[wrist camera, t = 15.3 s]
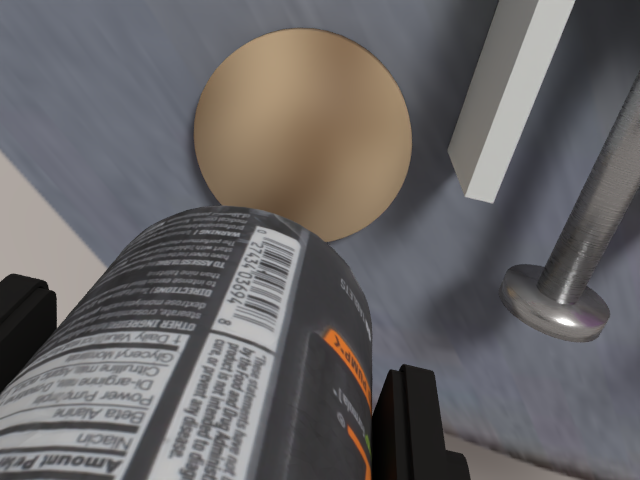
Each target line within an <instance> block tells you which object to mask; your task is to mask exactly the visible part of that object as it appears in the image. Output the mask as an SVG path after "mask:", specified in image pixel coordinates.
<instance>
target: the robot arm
mask: <svg viewBox="0 0 640 480" xmlns="http://www.w3.org/2000/svg"><path fill="white" fill-rule="evenodd" d="M56 300H57V298H56V293H55V292H54V291H51V290H49V288H48V285H47V282H46V281H43V280H40V279H35V278H31V277H26V276H22V275H18V274H10V275H8V276H7V277H5V278H4V279H3V280H2V281H1V282H0V394H1V392H2V391H3V390H4V389H5V388H6V386H7V385H8V384H9V383H10V382H11V381H12V380H13V379H14V377H15V376H16V375H17V374H18V373H19V372H20V371H21V370H22V369H23V368H24V366H25V365H26V364H27V363H28V361H29V360H30V359H31V358H32V357H33V355H34V354H35V353H36V352H37V351H38V349H39V348H40V347H41V346H42V345H43V344H44V343H45V342H46V341H47V339H48V338H49V337H50V336H51V335H52V334H53V332H54V331H55V330H56V329H57V304H56V303H57V302H56ZM372 436H373V460H372V480H471V479H470V474H469V468H468V465H467V461H466V458H465V457H464V455H463V454H461V453H456V452H452V451H448V450H446V449H445V442H444V435H443V428H442V421H441V415H440V408H439V401H438V394H437V387H436V380H435V375H434V372H433V371H431V370H427V369H423V368H418V367H414V366H410V365H406V364H403V365H402V366H401V367H400V369H399V371H396V370H392V369H391V370H390V371H389V372H388V374H387V377H386V380H385V383H384V385H383V388H382V391H381V394H380V396H379V399H378V402H377V405H376V407H375V410H374V413H373V416H372Z"/></svg>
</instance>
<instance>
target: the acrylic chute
mask: <svg viewBox="0 0 640 480" xmlns="http://www.w3.org/2000/svg"><path fill="white" fill-rule="evenodd" d="M574 3H575V0H499V2H498V5H497V8H496V11H495V14H494V17H493V20H492V23H491V25H490V28H489V31H488V34H487V37H486V40H485V43H484V46H483V49H482V52H481V54H480V57H479V60H478V63H477V66H476V69H475V72H474V75H473V78H472V81H471V83H470V86H469V89H468V92H467V95H466V98H465V101H464V104H463V107H462V110H461V112H460V115H459V118H458V121H457V124H456V127H455V130H454V133H453V136H452V139H451V141H450V144H449V147H448V150H447V151H448V154H449V157H450V159H451V162H452V164H453V167H454V170H455V172H456V175H457V177H458V180H459V183H460V185H461V188H462V191H463V193H464V196H465V197H468V198H473V199H477V200H481V201H485V202H489V203H493V202H494V200H495V197H496V195H497V192H498V190H499V188H500V185H501V183H502V180H503V178H504V175H505V173H506V170H507V168H508V165H509V163H510V160H511V158H512V155H513V153H514V151H515V148H516V146H517V143H518V141H519V138H520V136H521V133H522V131H523V128H524V126H525V123H526V121H527V118H528V116H529V114H530V111H531V109H532V106H533V104H534V101H535V99H536V96H537V94H538V91H539V89H540V86H541V84H542V81H543V79H544V77H545V74H546V72H547V69H548V67H549V64H550V62H551V59H552V57H553V54H554V52H555V49H556V47H557V44H558V42H559V40H560V37H561V35H562V32H563V30H564V27H565V25H566V22H567V20H568V17H569V15H570V12H571V10H572V7H573V5H574Z"/></svg>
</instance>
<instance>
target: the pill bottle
mask: <svg viewBox="0 0 640 480" xmlns="http://www.w3.org/2000/svg"><path fill="white" fill-rule="evenodd" d="M372 460H373V436H372V322H371V316H370V311H369V307H368V303H367V300H366V298H365V295H364V293H363V291H362V289H361V287H360V286H359V284H358V282H357V280H356V279H355V277H354V275H353V273H352V271H351V269H350V267H349V266H348V265H347V263H346V262H345V261H344V260H343V259H342V258H341V257H340V256H339V255H338V253H337V252H336V251H335V250H334V249H333V248H332V247H330V246H329V245H328V244H327V243H326V242H325V241H323V240H322V239H321V238H320V237H319V236H318V235H316V234H315V233H313V232H311V231H309V230H308V229H306V228H304V227H303V226H301V225H300V224H298V223H296V222H294V221H292V220H290V219H287V218H284V217H282V216H279V215H277V214H274V213H270V212H267V211H264V210H258V209H253V208H247V207H237V206H223V205H222V206H207V207H200V208H195V209H190V210H186V211H183V212H181V213H178V214H175V215H173V216H170V217H167V218H165V219H163V220H161V221H159V222H157V223H155V224H153V225H151V226H150V227H148V228H147V229H145V230H144V231H143V232H142V233H140V234H139V235H138V236H137V237H136V238H135V239H134V240H132V241H131V242H130V244H129V245H127V246H126V247H125V249H124V250H123V251H122V252H121V253H120V255H119V256H118V257H117V258H116V260H115V261H114V262H113V263H112V264H111V265H110V266H109V268H108V269H107V270H106V272H105V273H104V274H103V275H102V276H101V277H100V278H99V280H98V281H97V282H96V283H95V284H94V286H93V287H92V288H91V289H90V290H89V291H88V292H87V294H86V295H85V296H84V297H83V298H82V300H81V301H80V302H79V303H78V305H77V306H76V307H75V308H74V309H73V310H72V311H71V312H70V313H69V315H68V316H67V317H66V319H65V320H64V321H63V322H62V323H61V324H60V326H59V327H58V328H57V329H56V330H55V331H54V332H53V334H52V335H51V336H50V337H49V338H48V339H47V341H46V342H45V343H44V344H43V345H42V346H41V347H40V348H39V349H38V351H37V352H36V353H35V354H34V355H33V357H32V358H31V359H30V360H29V361H28V363H27V364H26V365H25V366H24V368H23V369H22V370H21V371H20V372H19V373H18V374H17V375H16V376H15V377H14V379H13V380H12V381H11V382H10V383H9V384H8V385H7V386H6V388H5V389H4V390H3V391H2V392H1V394H0V480H372Z"/></svg>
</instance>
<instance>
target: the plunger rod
mask: <svg viewBox="0 0 640 480" xmlns="http://www.w3.org/2000/svg"><path fill="white" fill-rule="evenodd" d="M639 186H640V71H639V73H638V75H637V77H636V79H635V81H634V83H633V85H632V87H631V90H630V92H629V94H628V96H627V98H626V100H625V102H624V104H623V106H622V108H621V110H620V112H619V114H618V116H617V118H616V121H615V123H614V125H613V127H612V129H611V131H610V133H609V135H608V137H607V139H606V141H605V143H604V145H603V147H602V150H601V152H600V154H599V156H598V158H597V160H596V162H595V164H594V166H593V168H592V170H591V172H590V174H589V176H588V178H587V181H586V183H585V185H584V187H583V189H582V191H581V193H580V195H579V197H578V199H577V201H576V203H575V205H574V207H573V210H572V212H571V214H570V216H569V218H568V220H567V222H566V224H565V226H564V228H563V230H562V232H561V234H560V236H559V239H558V241H557V243H556V245H555V247H554V249H553V251H552V253H551V255H550V257H549V259H548V261H547V263H546V265H545V267H542V266H537V265H530V264H520V265H515V266H512V267H510V268H509V269H508V270H507V272H506V274H505V277H504V279H503V281H502V283H501V286H500V288H499V297H500V299H501V301H502V303H503V304H504V306H505V307H506V308H507V309H508V310H509V311H510V312H511V313H512V314H513V315H514V316H515V317H517V318H518V319H519V320H521V321H522V322H524V323H525V324H527V325H528V326H530V327H532V328H534V329H536V330H538V331H540V332H542V333H544V334H546V335H549V336H552V337H555V338H558V339H561V340H565V341H571V342H589V341H593V340H595V339H596V338H598V337H599V335H600V333H601V332H602V330H603V328H604V326H605V325H606V323H607V321H608V319H609V318H610V310H609V308H608V306H607V304H606V303H605V302H604V300H603V299H602V298H601V297H600V296H599V295H598V294H597V293H596V292H594V291H593V290H592V289H590V288H589V287H588V286H586V285H587V284H588V282H589V280H590V278H591V276H592V274H593V272H594V270H595V269H596V267H597V265H598V263H599V261H600V259H601V257H602V256H603V254H604V252H605V250H606V248H607V246H608V244H609V242H610V241H611V239H612V237H613V235H614V233H615V231H616V229H617V228H618V226H619V224H620V222H621V220H622V218H623V216H624V214H625V213H626V211H627V209H628V207H629V205H630V203H631V201H632V199H633V198H634V196H635V194H636V192H637V190H638V188H639Z"/></svg>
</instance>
